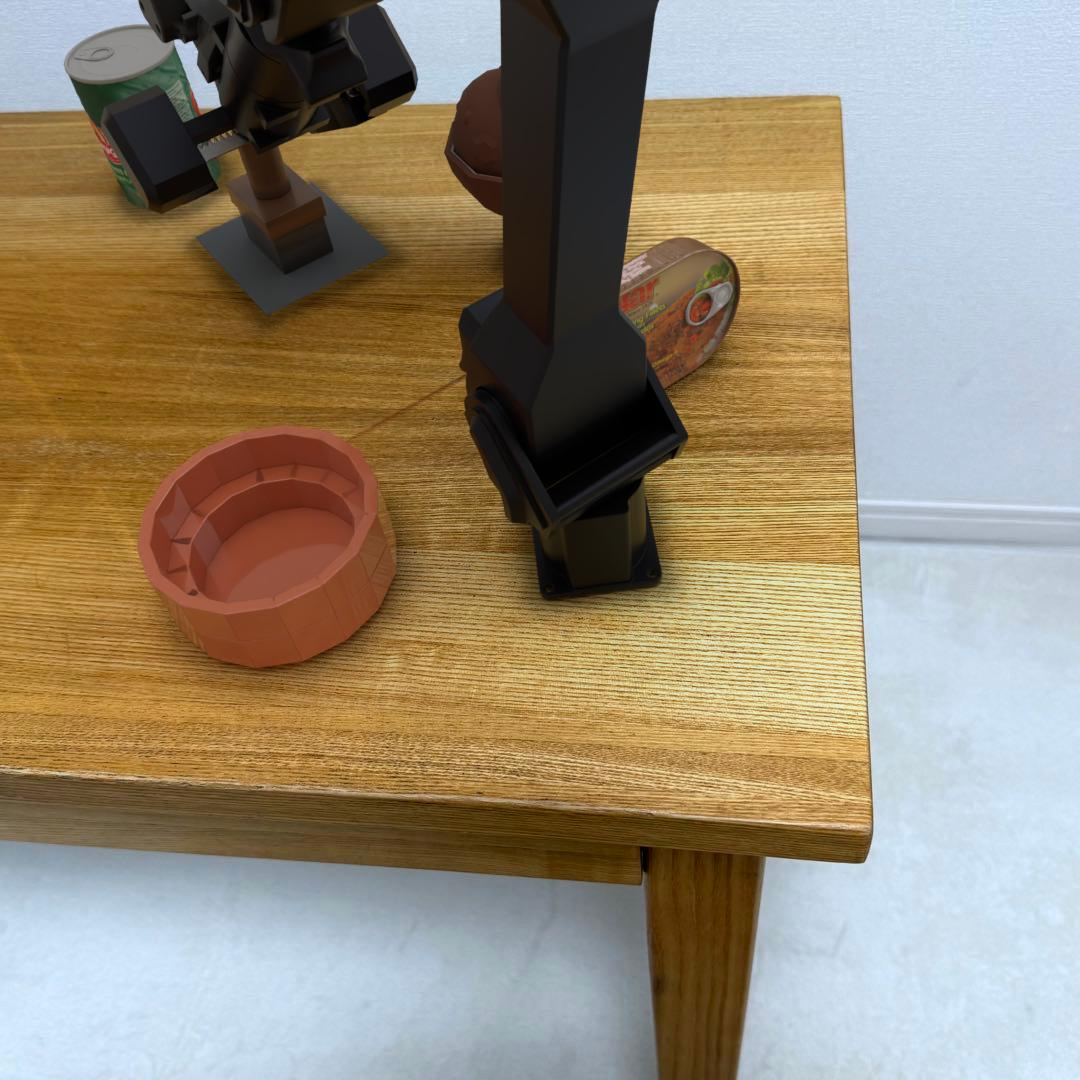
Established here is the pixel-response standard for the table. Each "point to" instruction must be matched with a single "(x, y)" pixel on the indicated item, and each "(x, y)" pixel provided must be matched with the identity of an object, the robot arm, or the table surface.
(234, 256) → the mat
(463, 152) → the ice cream bowl
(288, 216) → the brush
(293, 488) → the bowl
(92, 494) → the table surface
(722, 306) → the tin
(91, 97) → the canned tomato
